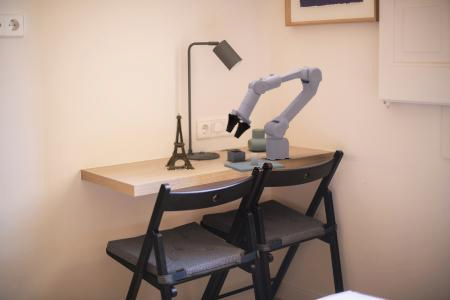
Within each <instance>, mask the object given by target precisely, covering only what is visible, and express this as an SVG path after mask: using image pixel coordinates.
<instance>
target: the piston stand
mask: <svg viewBox="0 0 450 300" xmlns="http://www.w3.org/2000/svg"><path fill="white" fill-rule="evenodd" d="M265 162H270V163H272V165H273V169H281V168H285V167H286V164H282V163H278V162H275V161H273V160H268V159H264V160H259V153H258V152H251V153H250V161H245V162H230V163H224V167H226V168H229V169H231V168H232V169H231V170H236V171H237V172H241V173H243V172H254V171H253V169H254V167H260V168H262V166H263V164H264V163H265Z"/></svg>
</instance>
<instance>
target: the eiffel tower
mask: <svg viewBox="0 0 450 300" xmlns="http://www.w3.org/2000/svg"><path fill="white" fill-rule="evenodd" d="M175 118H176V119H177V120H176V130H175V131H176V132H175V139H174V140H175V141H174V142H173V146H174V147H173V151H172V152H171V153H172V155H171V157H170V158H169V159H168V161H167V163H166V164H165V165H164V167H167V171H175V170H176V168H175V165H176V162H178V161H180V160H182V161H184V163H183V165H184V167H186V169H187V170H189V169H191V170H195V167H193V165H192V163H191V161H190V160H189V158H188V154H187V153H186V150H185V145H186V143H185V142H184V138H183V131H182V130H183V129H182V119H183V117H182V115H180V114H177V115H176V117H175ZM179 148H180V149H181V150H180V151H181V152H178V149H179ZM189 171H190V170H189Z"/></svg>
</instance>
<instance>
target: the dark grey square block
mask: <svg viewBox="0 0 450 300" xmlns="http://www.w3.org/2000/svg"><path fill="white" fill-rule="evenodd" d="M226 152H227V153H226V154H227V157H226V158H227V161H228V162H230V163H241V162H244V161H245V162H246V151H243V150H239V149H237V150H227V151H226Z"/></svg>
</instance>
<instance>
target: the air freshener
mask: <svg viewBox="0 0 450 300" xmlns="http://www.w3.org/2000/svg"><path fill="white" fill-rule="evenodd" d="M247 147H248V149H249V150H250V151H252V152H254V153H258V152H259V151H261V152H266V134H265V132H264V128H252V130H251V138H249V139H248V141H247Z"/></svg>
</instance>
